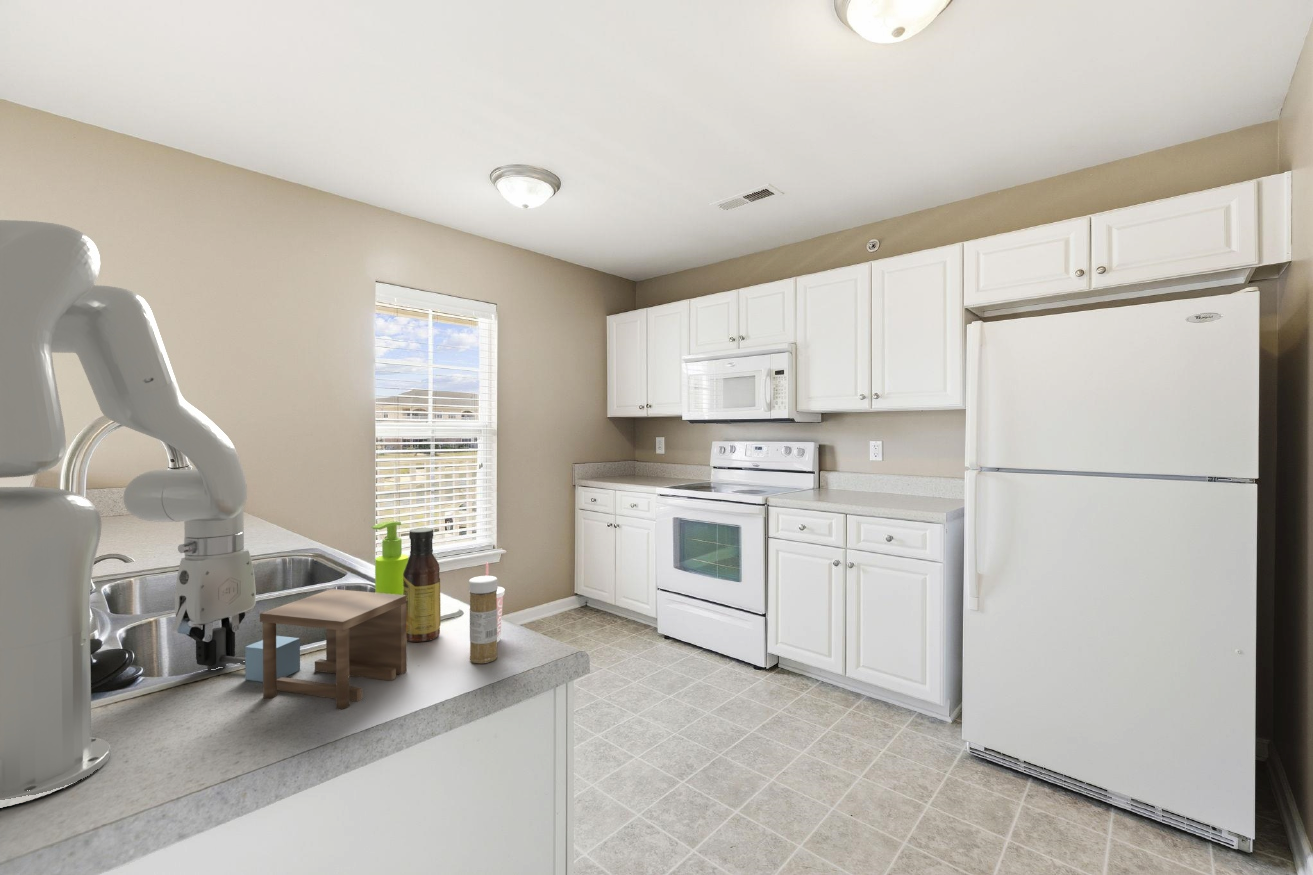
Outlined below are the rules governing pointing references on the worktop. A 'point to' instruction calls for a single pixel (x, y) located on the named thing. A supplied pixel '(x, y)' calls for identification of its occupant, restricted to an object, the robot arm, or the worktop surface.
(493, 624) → the sprinkles bottle
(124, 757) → the worktop surface
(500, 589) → the beverage cup
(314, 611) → the walnut shelf
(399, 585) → the soap dispenser
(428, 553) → the sauce bottle
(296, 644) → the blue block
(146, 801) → the worktop surface
